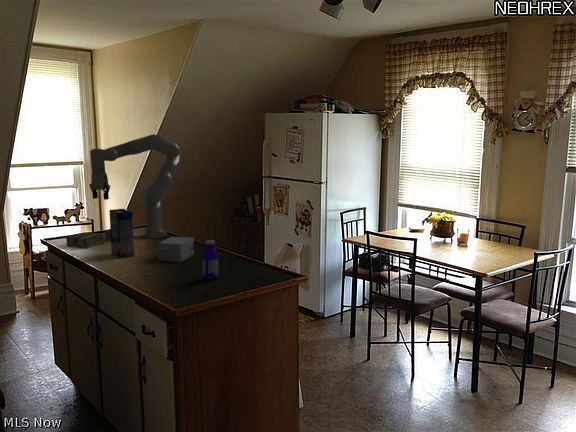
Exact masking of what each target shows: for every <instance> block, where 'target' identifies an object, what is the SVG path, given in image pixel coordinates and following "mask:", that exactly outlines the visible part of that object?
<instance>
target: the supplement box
mask: <svg viewBox="0 0 576 432" xmlns="http://www.w3.org/2000/svg"><path fill="white" fill-rule="evenodd" d="M194 241H195V240H194V237H184V236H183V237H182V236H181V237H180V236H169V237H168V238H166V239H164V240H161V241H159V242H157V244H156V247H157V248H156V249H157V261H164V262H168V261H169V262H175V263H176V262H177V263H181V262H183V261H185V260H187V259H189V258H190V257H192V256H194V255H195V254H194V253H195V250H194V247H195V246H194V245H195V244H194ZM191 255H192V256H191Z"/></svg>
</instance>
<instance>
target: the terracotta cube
mask: <svg viewBox="0 0 576 432" xmlns="http://www.w3.org/2000/svg"><path fill="white" fill-rule="evenodd" d="M104 241H110V242H111V232H110V228H109V229H105V230H104Z"/></svg>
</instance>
